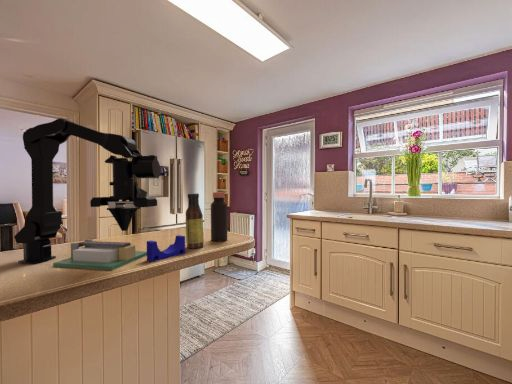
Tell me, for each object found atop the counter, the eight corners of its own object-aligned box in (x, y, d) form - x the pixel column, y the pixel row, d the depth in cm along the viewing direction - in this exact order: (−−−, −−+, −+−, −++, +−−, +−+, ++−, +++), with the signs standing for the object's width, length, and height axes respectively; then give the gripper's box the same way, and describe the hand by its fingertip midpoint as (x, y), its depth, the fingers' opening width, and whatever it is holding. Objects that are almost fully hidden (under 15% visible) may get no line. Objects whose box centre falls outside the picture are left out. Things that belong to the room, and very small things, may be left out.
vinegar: (230, 239, 107) (230, 192, 107) (220, 242, 101) (219, 192, 101) (218, 237, 111) (217, 192, 110) (207, 240, 105) (207, 192, 105)
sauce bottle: (207, 246, 95) (206, 193, 95) (194, 249, 90) (194, 193, 90) (194, 244, 99) (194, 193, 98) (182, 247, 93) (181, 193, 93)
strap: (76, 247, 78) (75, 242, 78) (84, 245, 81) (84, 240, 81) (123, 249, 74) (123, 244, 74) (130, 247, 77) (130, 242, 77)
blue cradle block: (176, 251, 88) (176, 234, 88) (185, 253, 85) (185, 236, 85) (144, 260, 78) (143, 240, 78) (152, 262, 76) (152, 242, 75)
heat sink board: (53, 266, 72) (52, 247, 71) (98, 252, 87) (98, 236, 87) (111, 270, 68) (111, 249, 68) (148, 254, 84) (147, 238, 83)
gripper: (166, 179, 82) (167, 227, 82) (116, 179, 85) (116, 225, 86) (145, 177, 71) (146, 233, 71) (88, 178, 74) (89, 231, 75)
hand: (124, 230), depth 76 cm, fingers closed
